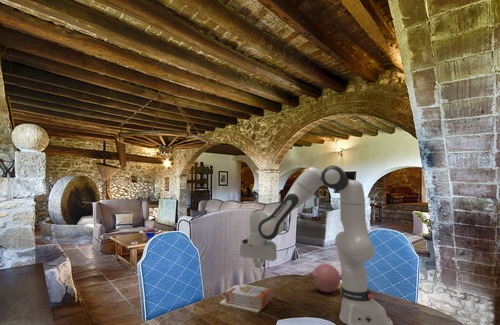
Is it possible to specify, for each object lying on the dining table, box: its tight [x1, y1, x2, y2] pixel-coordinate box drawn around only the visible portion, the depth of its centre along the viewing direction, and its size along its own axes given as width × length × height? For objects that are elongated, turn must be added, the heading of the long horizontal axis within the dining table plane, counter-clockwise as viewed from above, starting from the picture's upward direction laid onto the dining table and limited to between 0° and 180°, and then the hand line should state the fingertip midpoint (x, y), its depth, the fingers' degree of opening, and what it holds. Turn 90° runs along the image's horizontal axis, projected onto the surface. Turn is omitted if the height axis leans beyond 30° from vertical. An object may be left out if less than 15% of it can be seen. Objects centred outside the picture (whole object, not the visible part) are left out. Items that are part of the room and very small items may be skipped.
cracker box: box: [225, 282, 273, 310], centre depth 147 cm, size 14×6×21 cm
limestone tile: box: [219, 297, 262, 314], centre depth 148 cm, size 22×18×1 cm
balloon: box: [304, 263, 341, 293], centre depth 162 cm, size 15×20×15 cm
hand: (258, 267), depth 146 cm, fingers closed
